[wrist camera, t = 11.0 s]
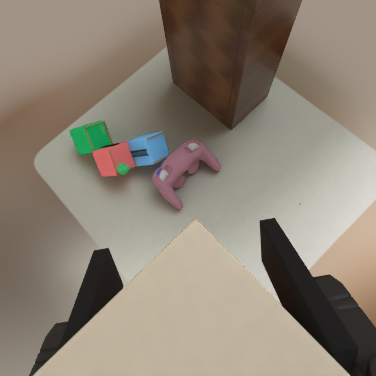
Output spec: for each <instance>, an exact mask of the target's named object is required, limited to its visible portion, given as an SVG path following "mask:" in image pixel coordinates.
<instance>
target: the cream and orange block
mask: <svg viewBox="0 0 376 376" xmlns="http://www.w3.org/2000/svg"><path fill="white" fill-rule="evenodd" d="M33 376H350V375H349V374H348V373H347V372H346V371H345V370H344V369H343V368H342V367H341V366H340V365H339V363H338V362H337V361H336V360H335V359H334V358H333V357H332V356H331V355H330V354H329V353H328V352H327V351H326V350H325V349H324V348H323V347H322V346H321V345H320V344H319V343H318V342H317V341H316V340H315V339H314V338H313V337H312V336H311V335H310V334H309V333H308V332H307V331H306V330H305V329H304V328H303V327H302V326H301V325H300V324H299V323H298V322H297V321H296V320H295V319H294V318H293V317H292V316H291V315H290V314H289V313H288V312H287V311H286V310H285V309H284V308H283V307H282V306H281V305H280V304H279V302H278V301H277V300H276V299H275V298H274V297H273V296H272V295H271V294H270V293H269V292H268V291H267V290H266V289H265V288H264V287H263V286H262V285H261V284H260V283H259V282H258V281H257V280H256V279H255V278H254V277H253V276H252V275H251V274H250V273H249V272H248V271H247V270H246V269H245V268H244V267H243V266H242V265H241V264H240V263H239V262H238V261H237V260H236V259H235V258H234V257H233V256H232V255H231V254H230V253H229V252H228V251H227V250H226V249H225V248H224V247H223V246H222V245H221V244H220V243H219V241H218V240H217V239H216V238H215V237H214V236H213V235H212V234H211V233H210V232H209V231H208V230H207V229H206V228H205V227H204V226H203V225H202V224H201V223H200V222H199V221H198V220H197V219H195V220H193V221H192V222H191V223H190V224H189V225H188V226H187V227H186V228H185V229H184V230H183V231H182V232H181V233H180V234H179V235H178V236H177V237H176V238H175V239H174V240H173V241H172V242H170V243H169V244H168V245H167V246H166V247H165V248H164V249H163V250H162V251H161V252H160V253H159V254H158V255H157V256H156V257H155V258H154V259H153V260H152V261H151V262H150V263H149V264H148V265H147V266H146V267H145V268H144V269H143V270H142V271H140V272H139V273H138V274H137V275H136V276H135V277H134V278H133V279H132V280H131V281H130V282H129V283H128V284H127V285H126V286H125V287H124V288H123V289H122V290H121V291H120V292H119V293H118V294H117V295H116V296H115V297H114V298H113V299H111V300H110V301H109V302H108V303H107V304H106V305H105V306H104V307H103V308H102V309H101V310H100V311H99V312H98V313H97V314H96V315H95V316H94V317H93V318H92V319H91V320H90V321H89V322H88V323H87V324H86V325H85V326H84V327H82V328H81V329H80V330H79V331H78V332H77V333H76V334H75V335H74V336H73V337H72V338H71V339H70V340H69V341H68V342H67V343H66V344H65V345H64V346H63V347H62V348H61V349H60V350H59V351H58V352H57V353H56V354H55V355H54V356H52V357H51V358H50V359H49V360H48V361H47V362H46V363H45V364H44V365H43V366H42V367H41V368H40V369H39V370H38V371H37V372H36V373H35V374H34V375H33Z"/></svg>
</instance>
